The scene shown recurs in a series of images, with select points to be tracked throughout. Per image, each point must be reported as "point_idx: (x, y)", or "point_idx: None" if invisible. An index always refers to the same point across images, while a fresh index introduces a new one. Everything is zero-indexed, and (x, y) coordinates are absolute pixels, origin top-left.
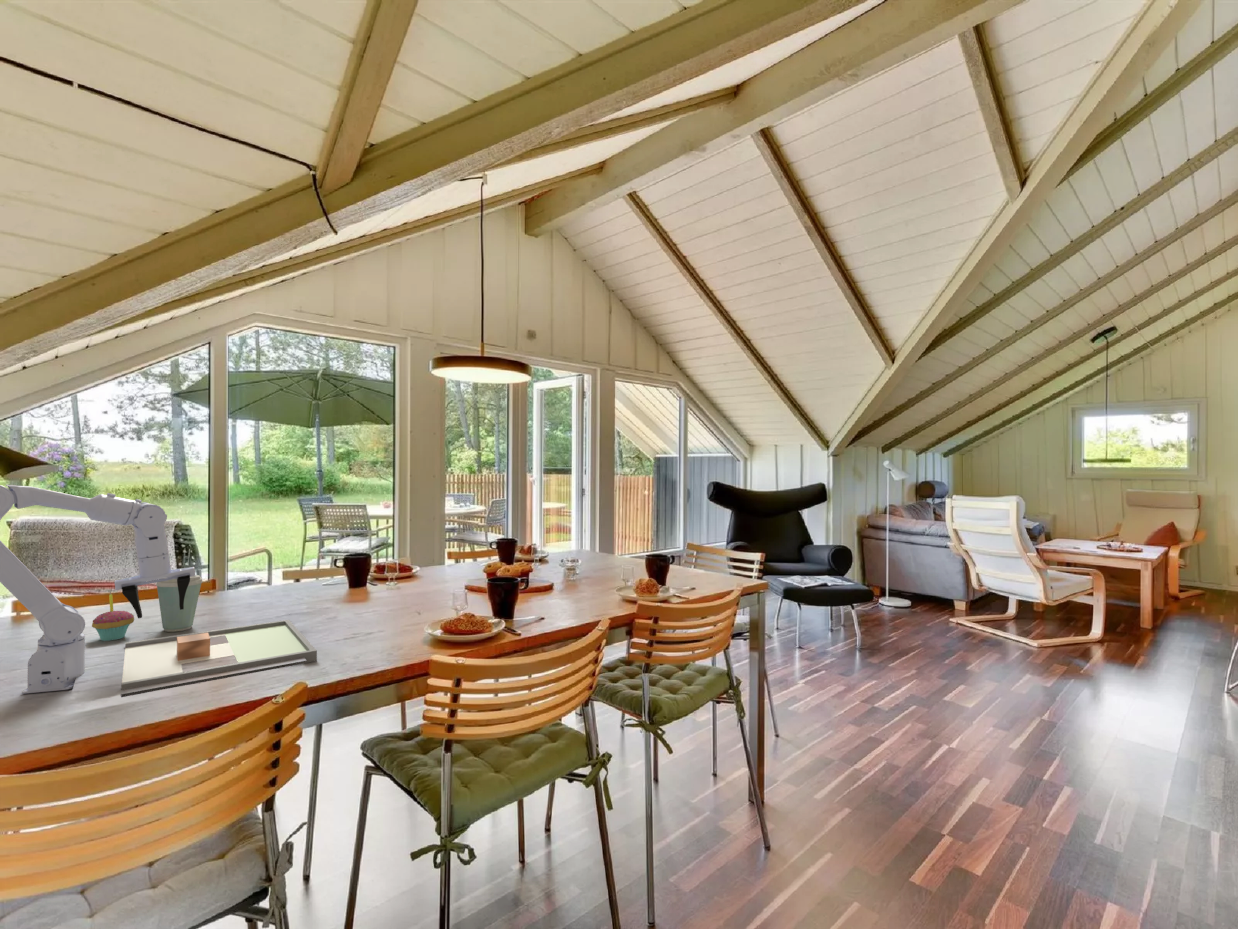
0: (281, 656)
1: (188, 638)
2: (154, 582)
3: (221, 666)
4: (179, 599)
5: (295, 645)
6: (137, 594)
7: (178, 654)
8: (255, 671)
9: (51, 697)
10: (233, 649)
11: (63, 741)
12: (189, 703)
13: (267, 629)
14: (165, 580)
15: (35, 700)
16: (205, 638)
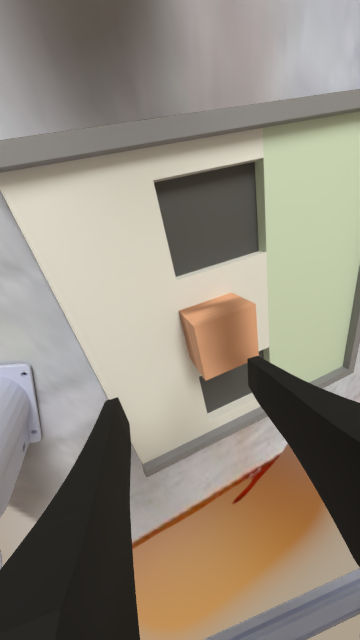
0: None
1: (220, 348)
2: (251, 628)
3: (255, 419)
4: (278, 429)
5: (344, 317)
6: (117, 559)
7: (195, 365)
8: None
9: (29, 460)
10: (270, 311)
11: (135, 538)
12: (220, 469)
13: (346, 145)
14: (326, 594)
15: None
16: (251, 356)
